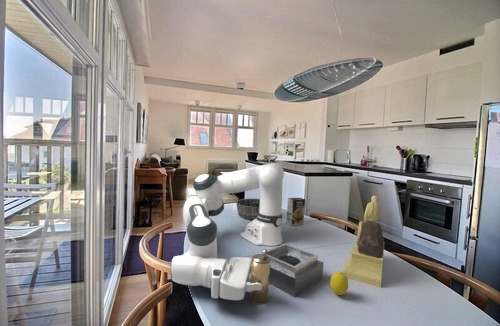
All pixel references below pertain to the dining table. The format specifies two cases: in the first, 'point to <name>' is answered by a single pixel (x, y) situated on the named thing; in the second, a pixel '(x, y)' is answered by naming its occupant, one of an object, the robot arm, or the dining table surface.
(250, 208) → the bundt pan
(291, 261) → the housing
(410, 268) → the dining table surface
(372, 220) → the decorative clock
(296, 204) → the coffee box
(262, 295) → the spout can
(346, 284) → the lemon
